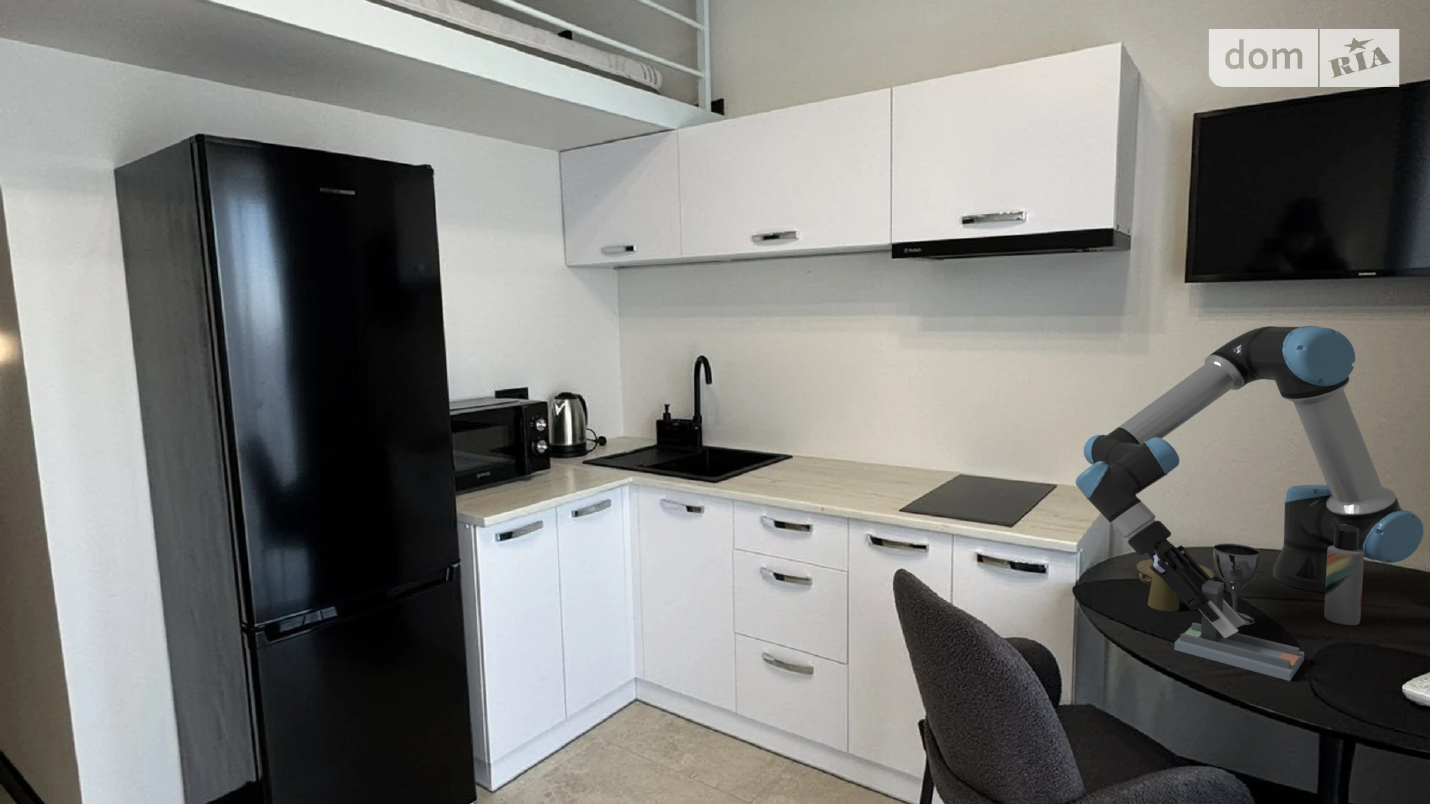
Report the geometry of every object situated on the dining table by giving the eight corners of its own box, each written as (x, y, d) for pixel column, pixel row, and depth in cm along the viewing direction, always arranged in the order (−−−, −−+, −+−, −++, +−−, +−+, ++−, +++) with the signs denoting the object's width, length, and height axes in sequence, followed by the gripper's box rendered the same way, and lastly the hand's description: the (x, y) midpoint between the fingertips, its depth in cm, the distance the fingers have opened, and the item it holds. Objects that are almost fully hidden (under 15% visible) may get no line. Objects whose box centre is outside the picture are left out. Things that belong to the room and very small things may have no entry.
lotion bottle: (1352, 616, 154) (1357, 523, 152) (1365, 627, 149) (1371, 531, 147) (1319, 613, 156) (1323, 521, 154) (1331, 624, 151) (1336, 529, 149)
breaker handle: (1200, 640, 142) (1202, 585, 141) (1207, 633, 145) (1208, 579, 144) (1215, 644, 140) (1217, 588, 139) (1222, 637, 143) (1223, 582, 142)
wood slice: (1215, 597, 168) (1215, 584, 168) (1135, 586, 176) (1135, 574, 176) (1212, 575, 181) (1212, 563, 181) (1137, 566, 190) (1138, 555, 189)
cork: (1184, 612, 160) (1185, 562, 159) (1153, 610, 161) (1154, 562, 160) (1172, 601, 166) (1174, 554, 165) (1143, 600, 167) (1144, 553, 166)
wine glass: (1202, 612, 160) (1204, 544, 158) (1236, 609, 160) (1239, 542, 158) (1230, 627, 152) (1233, 556, 150) (1267, 624, 152) (1270, 553, 151)
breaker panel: (1174, 649, 143) (1174, 636, 142) (1192, 632, 150) (1193, 619, 150) (1290, 681, 129) (1290, 666, 129) (1303, 660, 137) (1304, 646, 136)
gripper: (1142, 530, 158) (1230, 626, 147) (1111, 549, 147) (1204, 654, 136) (1170, 510, 153) (1264, 607, 143) (1140, 528, 142) (1240, 635, 132)
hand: (1235, 630), depth 140 cm, fingers closed on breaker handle, 4 cm apart
